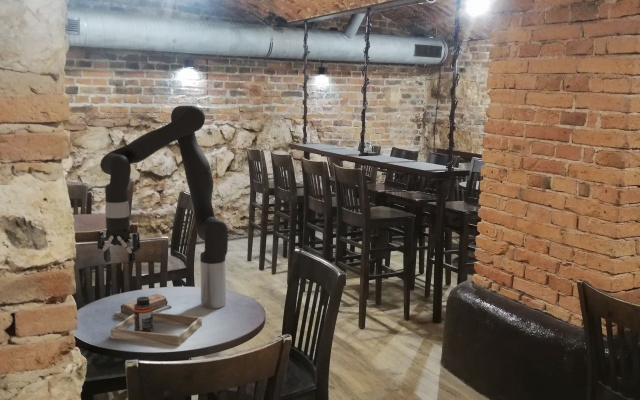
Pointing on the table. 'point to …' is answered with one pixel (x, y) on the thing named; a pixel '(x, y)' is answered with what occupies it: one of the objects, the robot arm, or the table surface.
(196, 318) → the wooden frame
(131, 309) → the packaged product
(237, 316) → the table surface
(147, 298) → the supplement bottle
